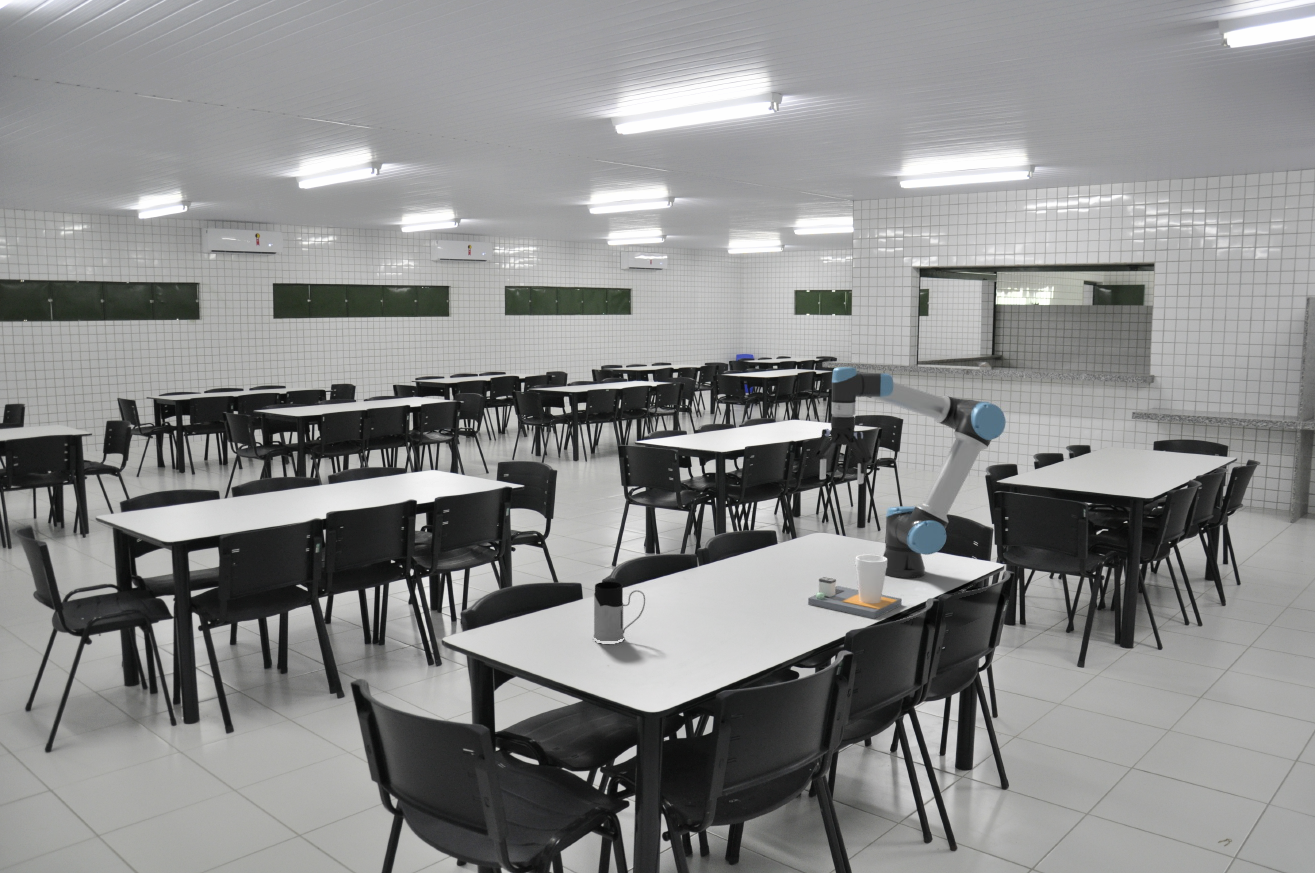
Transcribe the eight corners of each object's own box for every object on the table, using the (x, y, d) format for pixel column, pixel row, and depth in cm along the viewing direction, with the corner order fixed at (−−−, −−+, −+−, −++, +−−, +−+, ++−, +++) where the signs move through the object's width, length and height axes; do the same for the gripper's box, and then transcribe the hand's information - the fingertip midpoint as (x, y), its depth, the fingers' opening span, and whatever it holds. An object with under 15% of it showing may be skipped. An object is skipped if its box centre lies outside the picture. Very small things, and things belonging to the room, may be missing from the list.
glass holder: (594, 633, 266) (594, 580, 264) (645, 634, 265) (645, 581, 263) (590, 644, 257) (590, 589, 255) (644, 645, 256) (644, 590, 255)
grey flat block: (837, 591, 308) (837, 581, 308) (901, 604, 294) (901, 593, 294) (808, 604, 295) (808, 593, 294) (873, 618, 281) (874, 606, 280)
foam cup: (886, 605, 285) (887, 562, 284) (854, 603, 287) (855, 561, 286) (885, 596, 295) (886, 555, 293) (854, 594, 297) (855, 553, 295)
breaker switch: (823, 592, 299) (824, 576, 299) (835, 594, 297) (835, 579, 296) (818, 594, 297) (819, 578, 297) (830, 597, 295) (830, 581, 294)
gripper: (803, 413, 313) (801, 478, 316) (873, 419, 297) (871, 487, 300) (815, 412, 319) (813, 475, 321) (884, 417, 303) (882, 484, 306)
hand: (841, 481), depth 311 cm, fingers open, 13 cm apart
